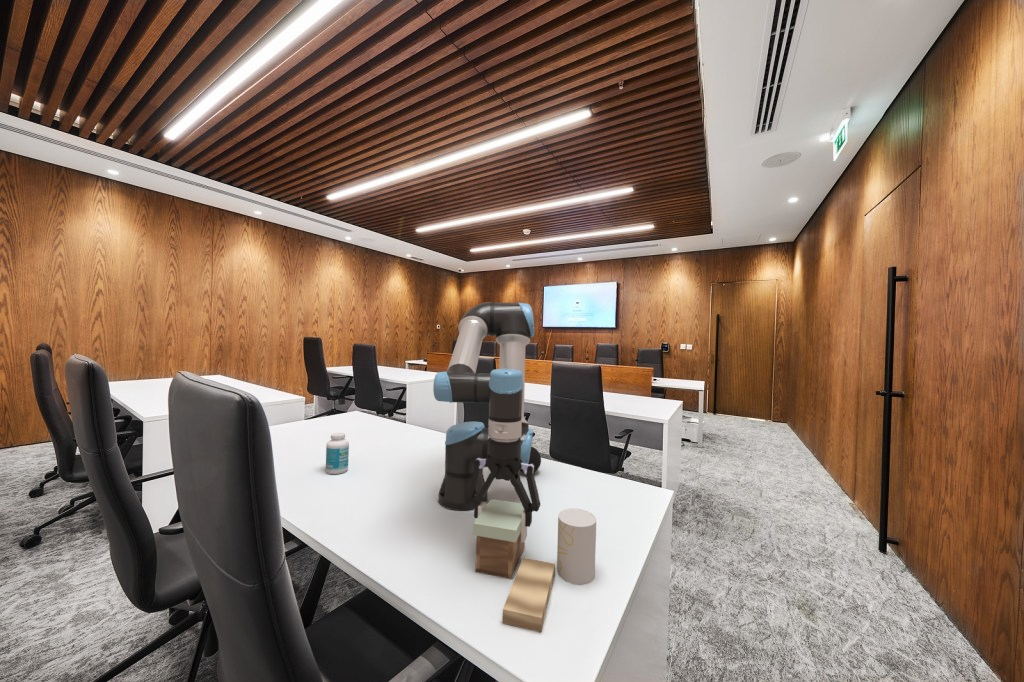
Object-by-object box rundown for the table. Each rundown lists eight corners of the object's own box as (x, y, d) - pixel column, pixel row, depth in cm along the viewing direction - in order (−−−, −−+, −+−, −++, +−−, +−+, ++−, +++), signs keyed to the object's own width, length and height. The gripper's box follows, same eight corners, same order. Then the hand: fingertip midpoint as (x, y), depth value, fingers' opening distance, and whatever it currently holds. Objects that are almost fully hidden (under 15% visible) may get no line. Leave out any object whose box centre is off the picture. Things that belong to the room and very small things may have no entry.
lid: (515, 546, 77) (516, 530, 77) (472, 538, 80) (473, 523, 80) (528, 518, 90) (528, 504, 89) (490, 512, 92) (491, 499, 92)
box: (511, 579, 78) (512, 541, 78) (475, 571, 80) (476, 535, 80) (524, 547, 90) (525, 514, 89) (492, 542, 92) (493, 510, 91)
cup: (553, 561, 85) (555, 508, 84) (588, 560, 85) (590, 508, 85) (561, 585, 77) (562, 527, 76) (599, 583, 77) (601, 526, 77)
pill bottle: (342, 475, 131) (343, 437, 131) (321, 474, 131) (322, 436, 131) (351, 468, 139) (352, 432, 139) (332, 467, 139) (332, 431, 139)
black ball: (523, 466, 145) (524, 441, 145) (545, 472, 140) (546, 446, 139) (508, 473, 137) (509, 446, 137) (531, 480, 132) (531, 452, 131)
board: (541, 632, 64) (541, 617, 64) (502, 623, 66) (502, 609, 66) (554, 575, 80) (555, 563, 80) (522, 569, 81) (523, 557, 81)
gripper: (452, 437, 84) (450, 536, 84) (550, 447, 78) (547, 553, 78) (465, 429, 91) (462, 520, 91) (555, 438, 85) (553, 535, 85)
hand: (502, 535), depth 85 cm, fingers closed on lid, 9 cm apart
